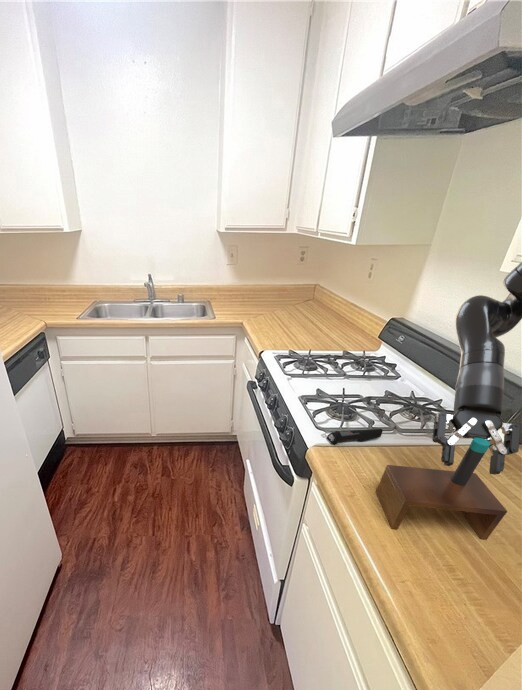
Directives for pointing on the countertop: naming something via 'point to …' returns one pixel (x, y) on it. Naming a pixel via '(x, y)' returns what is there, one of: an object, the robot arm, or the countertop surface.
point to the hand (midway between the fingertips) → (471, 469)
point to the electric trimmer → (353, 435)
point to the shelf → (438, 496)
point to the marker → (470, 461)
